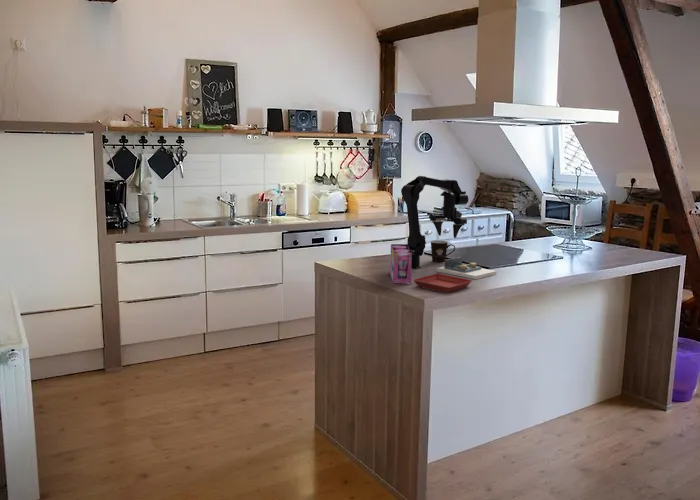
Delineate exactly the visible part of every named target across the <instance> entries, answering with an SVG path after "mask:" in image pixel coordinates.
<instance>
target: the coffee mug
mask: <svg viewBox="0 0 700 500" xmlns="http://www.w3.org/2000/svg"><path fill="white" fill-rule="evenodd" d="M450 246H452V247H453V250H452V251H451V252H449V253H448V254H447V251H448V249H449V247H450ZM430 249H431V250H430V251H431V262H433V263H438V264H439V263H445V260H446V258H447V256H449V255H451V254H452V253H454V252H455V250H456V246H455V245H454V244H453V243H450V244H449V241H446V240H437V239H436V240H431V241H430Z"/></svg>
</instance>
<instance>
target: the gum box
mask: <svg viewBox="0 0 700 500" xmlns="http://www.w3.org/2000/svg"><path fill="white" fill-rule="evenodd" d="M411 260H412V252H411V250H410V249H409V247H408V244H407V243H405V244H404V243H403V244H402V243H391V244H390V263H389V264H390V265H389V266H390V270H389V271H390V276H391V280H392V281H393V282H392V284H393V283H411V284H412V269H411Z"/></svg>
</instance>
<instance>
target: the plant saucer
mask: <svg viewBox="0 0 700 500" xmlns="http://www.w3.org/2000/svg"><path fill="white" fill-rule="evenodd" d="M472 280H473V279H469V278H468V279H467V278H464V277H459V276H458V277H456V276H454V275H449V274H448V275H447V274H443V273H442V274H441V273H433V274H429V275H426V276H422V277H418V278H413V282H414V283H415V284H416V285H417V286H418V287H419V286H420V288H422V287H424V289H427V288H429V289H428V290H432V289H434V290H433V291H437V290H439V292H442V291H444V292H443V293H451V292H455V291H458V290H460V289H461V290H462V289H463V288H466V287H467V286H469V285H470V283H472Z"/></svg>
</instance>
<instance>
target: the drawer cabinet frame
mask: <svg viewBox="0 0 700 500" xmlns="http://www.w3.org/2000/svg"><path fill="white" fill-rule="evenodd" d="M460 265H467V268H465V270H463V269H462V268H460ZM443 267H444V268H445V269H450V270H455V271H460V272H465V273H466V272H470V271H475V270H479V269H481V268H482V266H478V265H476V266H474V268H472V267H471V266H469V263H463V257H462V256H458V257H457V256H456V257H453V258H448V259H445V262H444V266H443Z"/></svg>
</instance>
